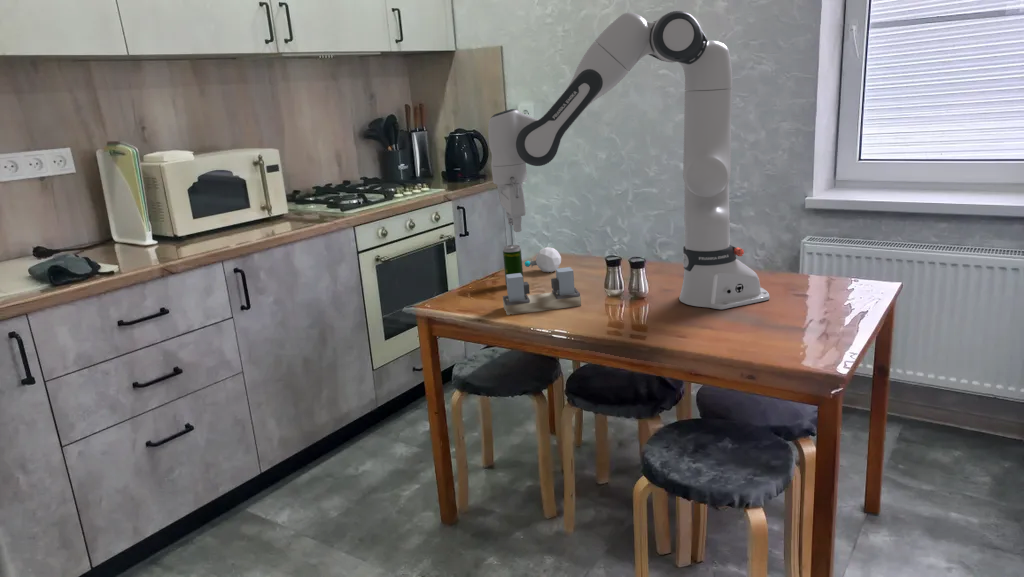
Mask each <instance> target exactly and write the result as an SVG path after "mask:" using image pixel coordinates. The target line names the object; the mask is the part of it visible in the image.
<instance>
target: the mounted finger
mask: <svg viewBox="0 0 1024 577" xmlns="http://www.w3.org/2000/svg"><path fill="white" fill-rule="evenodd" d="M574 273H575V272H574V269H572V267H571V266H567V267H560V268H559V267H558V268H557V269H556V270H555V277H554V278H550V282H551V289H552V290H554V291H555V290H557V294H558V295H559V296H561V295H569V294H575V289H574V288H575V277H574V275H575V274H574Z"/></svg>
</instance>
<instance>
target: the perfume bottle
mask: <svg viewBox="0 0 1024 577" xmlns="http://www.w3.org/2000/svg"><path fill="white" fill-rule="evenodd" d="M559 252H560V251H558V250H557V249H555V248H554V247H550V246H549V247H548V246H546V247H543V248H541V249H540V250H539V251H538V253H537V255H536V256H535V260H533V259H530V260H526V261H525V262H524V266H525V267H526V268H529V267H533V266H534V267H535V266H537V267H538V268H539V270H540V271H541V272H545V273H549V272H551V273H552V272H556V269H557V268H559V267H560V266H561V263H562V256H561V254H560V253H559Z"/></svg>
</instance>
